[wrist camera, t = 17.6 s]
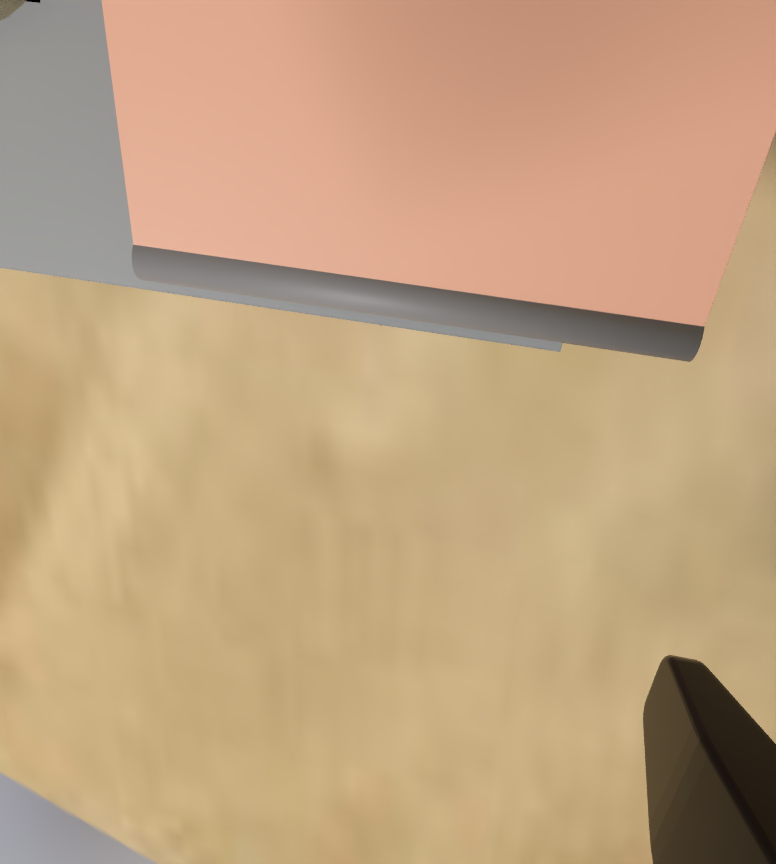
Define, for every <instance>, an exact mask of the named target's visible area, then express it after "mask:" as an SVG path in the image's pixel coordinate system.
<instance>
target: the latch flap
mask: <svg viewBox="0 0 776 864" xmlns="http://www.w3.org/2000/svg"><path fill="white" fill-rule="evenodd" d="M101 1H102V8H103V16H104V24H105V31H106V39H107V47H108V54H109V62H110V70H111V77H112V85H113V93H114V100H115V108H116V116H117V124H118V131H119V139H120V147H121V154H122V162H123V170H124V177H125V185H126V193H127V200H128V208H129V216H130V223H131V231H132V239H133V248H132V266H133V270H134V273H135V275H136V276H137V278H139V279H140V280H145V281H151V282H158V283H165V284H172V285H178V286H185V287H192V288H198V289H205V290H212V291H219V292H225V293H232V294H239V295H245V296H252V297H259V298H266V299H272V300H279V301H286V302H292V303H299V304H306V305H312V306H319V307H326V308H333V309H339V310H346V311H353V312H359V313H366V314H373V315H380V316H386V317H393V318H400V319H406V320H413V321H420V322H427V323H433V324H440V325H447V326H453V327H460V328H467V329H473V330H480V331H487V332H494V333H500V334H507V335H514V336H520V337H527V338H534V339H541V340H547V341H554V342H561V343H567V344H574V345H581V346H588V347H594V348H601V349H608V350H614V351H621V352H628V353H635V354H641V355H648V356H655V357H661V358H668V359H675V360H681V361H688V362H690V361H691V360H693V358H694V357H695V355H696V354H697V352H698V349H699V347H700V344H701V341H702V337H703V332H704V326H705V323H706V320H707V318H708V315H709V312H710V310H711V307H712V304H713V301H714V299H715V296H716V293H717V290H718V288H719V285H720V282H721V280H722V277H723V274H724V271H725V269H726V266H727V263H728V260H729V258H730V255H731V252H732V250H733V247H734V244H735V241H736V239H737V236H738V233H739V230H740V228H741V225H742V222H743V220H744V217H745V214H746V211H747V209H748V206H749V203H750V200H751V198H752V195H753V192H754V190H755V187H756V184H757V181H758V179H759V176H760V173H761V170H762V168H763V165H764V162H765V160H766V157H767V154H768V151H769V149H770V146H771V143H772V140H773V138H774V135H775V132H776V0H101Z"/></svg>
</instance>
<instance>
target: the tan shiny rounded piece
mask: <svg viewBox="0 0 776 864" xmlns="http://www.w3.org/2000/svg"><path fill="white" fill-rule="evenodd" d="M25 1H26V0H0V21H1V20H3V19H5V18H7V17H9V16H10V15H11V14H12V13H13V12H15V11H16V10H17V9H18V8H19V7H21V6H22V5H23V3H24V2H25Z"/></svg>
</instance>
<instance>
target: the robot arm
mask: <svg viewBox="0 0 776 864" xmlns="http://www.w3.org/2000/svg"><path fill="white" fill-rule="evenodd" d="M643 727H644V745H645V762H646V780H647V797H648V815H649V830H650V843H651V852H652V859H653V864H776V744H775V743H774V742H773V741H772V739H771V738H770V737H769V736H768V735H767V734H766V733H765V732H764V731H763V729H762V728H761V727H760V726H759V725H758V724H757V723H756V722H755V720H754V719H753V718H752V717H751V716H750V715H749V714H748V713H747V712H746V710H745V709H744V708H743V707H742V706H741V705H740V704H739V703H738V701H737V700H736V699H735V698H734V697H733V696H732V695H731V694H730V693H729V691H728V690H727V689H726V688H725V687H724V686H723V685H722V684H721V682H720V681H719V680H718V679H717V678H716V677H715V676H714V675H713V674H712V672H711V671H710V670H709V669H708V668H707V667H706V666H705V665H704V664H703V663H701V662H700V661H697V660H694V659H688V658H683V657H678V656H673V655H669V656H666V657H664V659H663V660H662V661H661V663H660V665H659V668H658V670H657V673H656V675H655V678H654V681H653V683H652V686H651V688H650V691H649V694H648V696H647V699H646V702H645V706H644V713H643Z"/></svg>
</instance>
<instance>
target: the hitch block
mask: <svg viewBox="0 0 776 864" xmlns="http://www.w3.org/2000/svg"><path fill="white" fill-rule="evenodd" d="M132 248H133V239H132V231H131V223H130V216H129V208H128V200H127V193H126V185H125V177H124V170H123V162H122V154H121V147H120V139H119V131H118V124H117V116H116V108H115V100H114V93H113V85H112V77H111V70H110V62H109V54H108V47H107V39H106V31H105V24H104V16H103V8H102V1H101V0H40V3H37V2H27V1H25V2H24V3H23V5H22V6H21V7H19V8H18V9H17V10H16V11H15V12H13V13H12V14H11V15H10V16H9V17H7V18H5V19H3V20H1V21H0V268H6V269H12V270H19V271H26V272H32V273H39V274H46V275H52V276H59V277H66V278H72V279H79V280H85V281H92V282H99V283H105V284H112V285H119V286H125V287H132V288H139V289H145V290H152V291H159V292H165V293H172V294H179V295H185V296H192V297H198V298H205V299H212V300H218V301H225V302H232V303H238V304H245V305H252V306H258V307H265V308H272V309H278V310H285V311H292V312H298V313H305V314H311V315H318V316H325V317H331V318H338V319H345V320H351V321H358V322H365V323H371V324H378V325H385V326H391V327H398V328H405V329H411V330H418V331H424V332H431V333H438V334H444V335H451V336H458V337H464V338H471V339H478V340H484V341H491V342H498V343H504V344H511V345H517V346H524V347H531V348H537V349H544V350H551V351H557V352H560V351H561V347H562V343H561V342H554V341H547V340H541V339H534V338H527V337H520V336H514V335H507V334H500V333H494V332H487V331H480V330H473V329H467V328H460V327H453V326H447V325H440V324H433V323H427V322H420V321H413V320H406V319H400V318H393V317H386V316H380V315H373V314H366V313H359V312H353V311H346V310H339V309H333V308H326V307H319V306H312V305H306V304H299V303H292V302H286V301H279V300H272V299H266V298H259V297H252V296H245V295H239V294H232V293H225V292H219V291H212V290H205V289H198V288H192V287H185V286H178V285H172V284H165V283H158V282H151V281H145V280H140V279H139V278H137V276H136V275H135V273H134V270H133V266H132Z"/></svg>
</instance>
